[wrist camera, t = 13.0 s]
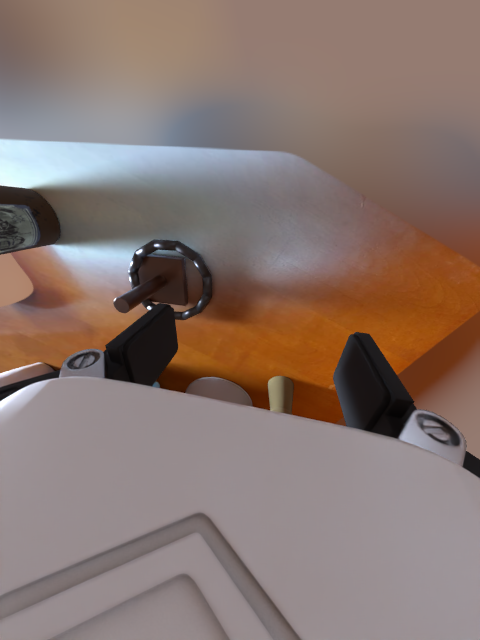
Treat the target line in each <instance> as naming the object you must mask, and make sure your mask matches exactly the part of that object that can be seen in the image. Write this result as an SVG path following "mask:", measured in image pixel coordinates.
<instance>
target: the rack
mask: <svg viewBox="0 0 480 640" xmlns="http://www.w3.org/2000/svg"><path fill="white" fill-rule="evenodd" d="M138 274H139V279H140V284H141V285H139V286H137V287H135V288H134V289H132V290H130V291H128V292H126V293H125V294H123V295H121V296H119V297H117V298H116V299H115V300H114V306H115V308H116V309H117V310H118V311H119V312H122V313H127V312H129V311H130V310H132V309H133V308H134V307H136V306H137V305H139V304H140V303H142V302H143V301H145V300H146V299H148V298H149V299H150V301H152V302H160V303H167V304H175V305H183V306H185V305H186V304H187V303H188V297H187V284H186V270H185V258H181V257H171V256H161V255H151V254H149V255H148V256H146V257H144V259H143V261H142V264H141V266H140V269H139V271H138Z"/></svg>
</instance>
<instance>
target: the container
mask: <svg viewBox="0 0 480 640" xmlns="http://www.w3.org/2000/svg"><path fill="white" fill-rule="evenodd" d="M185 393H187V394H192V395H197V396H202V397H207V398H212V399H217V400H222V401H227V402H232V403H236V404H241V405H246V406H251V407H253V405H252V401H251V399H250V397H249V395H248V394H247V393H246V391H245V390H243V389H242V388H241V387H240V386H238V385H237V384H235V383H233V382H231V381H229V380H226V379H222V378H217V377H205V378H200V379H197V380H195V381H193V382H192V383H191V384H190V385H189V386H188V387H187V389H186V392H185Z"/></svg>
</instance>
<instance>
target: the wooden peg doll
mask: <svg viewBox="0 0 480 640" xmlns="http://www.w3.org/2000/svg"><path fill="white" fill-rule="evenodd" d="M293 390H294V384H293V382H292V381H291V380H290V379H289V378H287V377H284V376H276V377H273V378H271V379H270V380H269V381H268V392H269V401H270V410H271V411H275V412H280V413H285V414H290V415H292V413H291V412H292V401H293Z"/></svg>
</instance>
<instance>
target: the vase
mask: <svg viewBox="0 0 480 640" xmlns="http://www.w3.org/2000/svg"><path fill="white" fill-rule="evenodd" d="M50 372H54V370H53V369H52V368H51V367H50V366H48V365H46V364H44V363H35V364H32V365H28V366H24V367H20V368H17V369H14V370H10V371H7V372H4V373H1V374H0V387H2V386H5V385H9V384H12V383H15V382H19V381H22V380H26V379H29V378H33V377H36V376H40V375H43V374H47V373H50Z"/></svg>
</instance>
